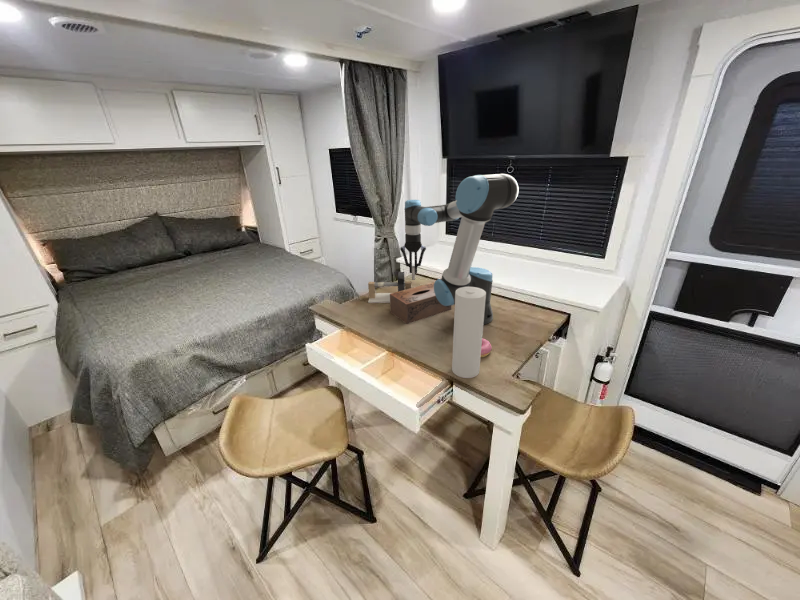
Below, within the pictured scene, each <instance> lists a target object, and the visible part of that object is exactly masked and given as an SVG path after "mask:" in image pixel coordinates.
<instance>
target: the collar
mask: <svg viewBox="0 0 800 600" xmlns="http://www.w3.org/2000/svg"><path fill="white" fill-rule="evenodd" d="M397 282H398V286H397V292H399V291H402V290H405V286H404V282H405V271H398V275H397Z"/></svg>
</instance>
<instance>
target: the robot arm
mask: <svg viewBox="0 0 800 600" xmlns="http://www.w3.org/2000/svg"><path fill="white" fill-rule="evenodd" d="M519 190H520V189H519V185H518V182H517V180H516V179H515V177H513V176H512V175H510V174H507V173H495V174H494V173H493V174H475V175H472V176H468V177H466V178H464V179H463V180H462V181H461V182H460V183H459V184H458V186H457V189H456V192H455V200H453V201H451V202H449V203H446V204H442V205H441V204H440V205H432V206H430V205H429V206H422V204H421V203H422V201H421V200H419V199H406V200H405V201H404V233H405V235H404V239H405V242H404V245H403V246H401V247H400V248H399V249H400V251H401V253H402V256H403V260H404V263H405V264H404V265H405V266H406V267H408V268H409V274H411V280H412V281H415V280H416V274H418V267H421V265H422V261H423V258H424V254H425V251H426V250H427V247H426V246H424V245H422V244H423V243H422V241H421V239H422V237H421V232H422V228H421V227H422V226H425V227H430V226H433V225H434V224H440V223H445V222H454V221H457V220H459V219H460V218H461V219H460V222H459V227H458V230H457V234H456V237H455V240H454V244H453V249H452V253H451V255H450V260H449V262H448V263H449V264H448V267H447V268H446V269H444V270H443V272H442V275H441V278H438V279H437V280H435V281H434V292H435V295H436V298H437V300H438V301H439V302H440V303H441V304H442V305H444V306H450V305H452V306H455V291H456V290H457V289H458V288H461V287H477V288H480V289H483V290H484V291H485V292H486V299H485V311H484V322H483V325H487V324H489V323H492V321H493V319H494V312H493V309H492V306H491V305H492V304H491V300H492V299H491V298H492V288H493V273H492V271H490V270H489V269H486V268H482V267H476V266H472V265H473V262H474V259H475V257H476V256H475V255H476V252H477V249H478V246H479V243H480V239H481V236H482V234H483V231H484V227H485V225H486V223H488V222H490V221H491V219H492V218H493V217H492V216H493V214H494V211H495V210H500V209H501V210H502V209H506V208H508V207H510V206H511V205H513V203H514V202H515V201H516V200H517V197H518V196H519ZM406 250H407V251H408V253H409V254H408V256H409V259H408V258H407V257H408V256H407V253H406ZM419 250H421V252H420V256H419V259H418V252H419ZM413 254H414V265H413Z"/></svg>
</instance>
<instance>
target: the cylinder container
mask: <svg viewBox="0 0 800 600" xmlns="http://www.w3.org/2000/svg"><path fill="white" fill-rule="evenodd" d="M485 299H486V292H485V291H484V290H483V289H480V288H477V287H461V288H458V289H457V290H456V291H455V304H454V314H453V316H454V317H453V318H454V320H453V338H452V339H453V340H452V360H451V371H452V372H453V374H454V375H456V376H457V377H460V378H464V379H472V378H475V377H477V376H478V375H479V374H480V367H481V366H480V365H481V358H482V357H481V346H482V338H483V334H484V324H483V322H484V311H485Z"/></svg>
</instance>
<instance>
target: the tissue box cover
mask: <svg viewBox="0 0 800 600" xmlns="http://www.w3.org/2000/svg"><path fill="white" fill-rule="evenodd" d="M434 283H435V281H433V282H429V283H425V284H421V285H417V286H414V287H411V288H410V289H406V290H402V291H399V292H398V291H395V292H390V293H391V294H390V303H389V305H390V306H389V307H390V314H392V315H393V316H395V317H396V318H398V319H399V320H400V321H402V322H403V323H404V324H406V325H408V324H411V323H415V322H418V321H421V320H424V319H427V318H430V317H433V316H437V315H439V314H442V313H445V312H449V311H451V310H452V306H453V305H450V306H444V305H442V304H441V303H440V302H439V301H438V300H437V298H436V295H435V292H434Z"/></svg>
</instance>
